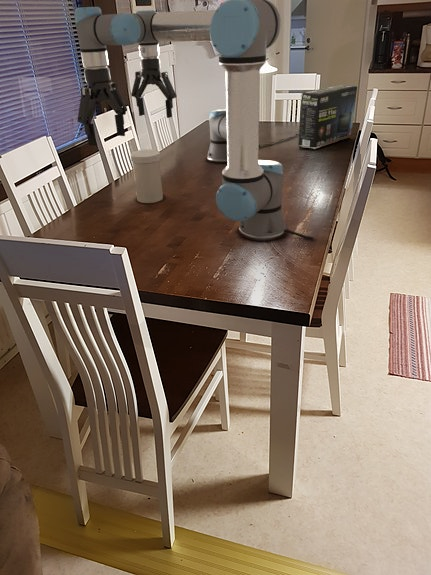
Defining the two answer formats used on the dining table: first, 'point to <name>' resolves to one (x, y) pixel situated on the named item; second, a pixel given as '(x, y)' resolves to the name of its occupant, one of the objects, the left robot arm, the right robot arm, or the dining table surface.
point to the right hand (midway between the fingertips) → (107, 140)
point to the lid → (145, 156)
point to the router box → (326, 115)
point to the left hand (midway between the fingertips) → (155, 116)
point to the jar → (148, 182)
